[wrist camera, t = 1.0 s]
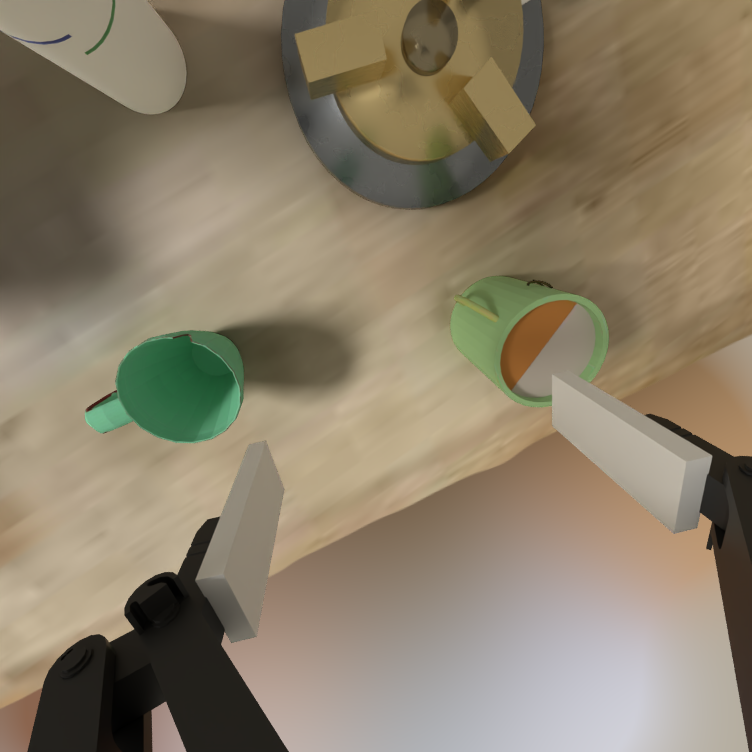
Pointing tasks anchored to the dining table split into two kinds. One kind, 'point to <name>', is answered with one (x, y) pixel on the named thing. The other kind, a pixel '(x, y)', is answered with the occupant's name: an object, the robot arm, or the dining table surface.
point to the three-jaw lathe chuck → (421, 74)
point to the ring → (366, 167)
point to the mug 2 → (528, 335)
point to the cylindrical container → (104, 47)
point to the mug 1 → (175, 388)
